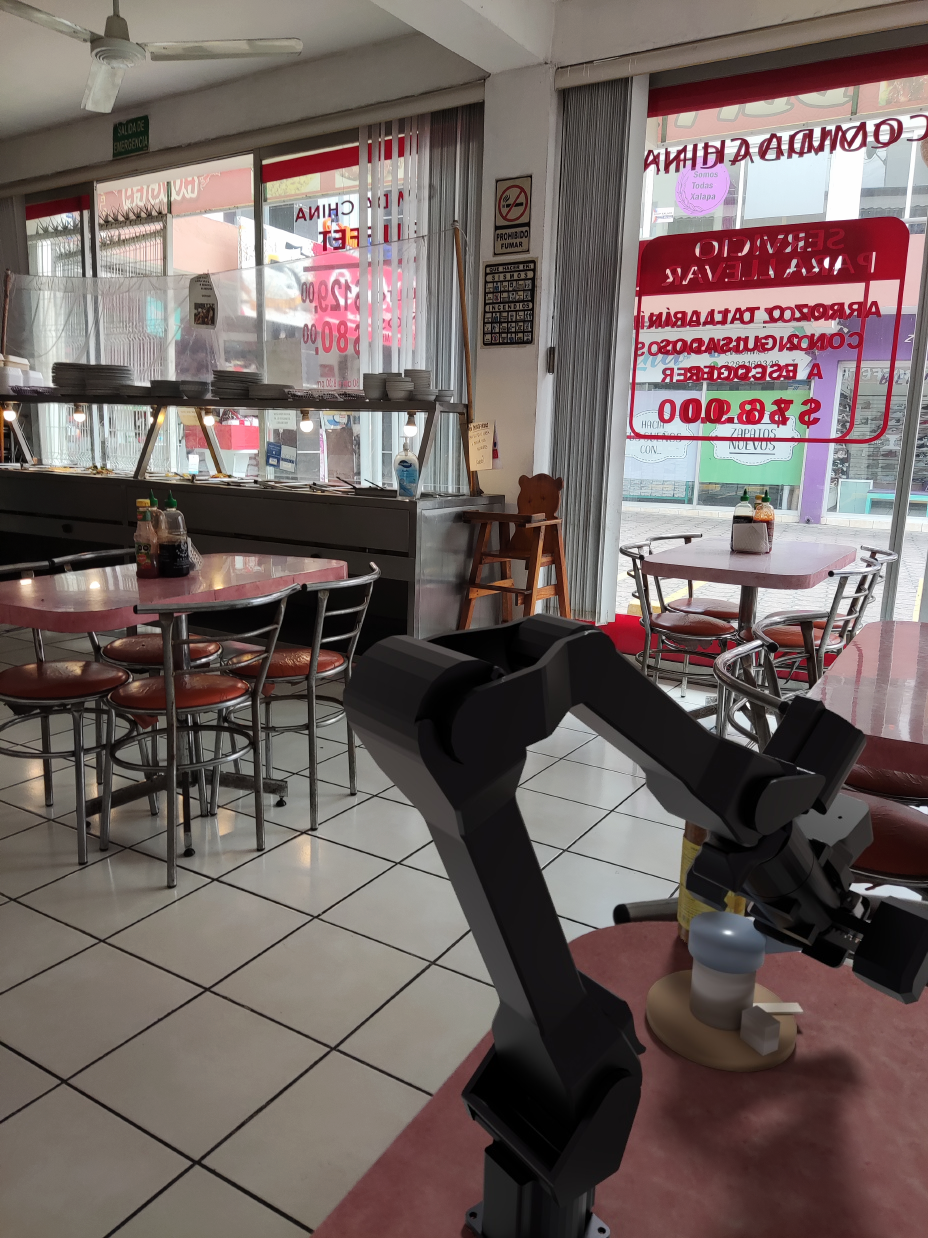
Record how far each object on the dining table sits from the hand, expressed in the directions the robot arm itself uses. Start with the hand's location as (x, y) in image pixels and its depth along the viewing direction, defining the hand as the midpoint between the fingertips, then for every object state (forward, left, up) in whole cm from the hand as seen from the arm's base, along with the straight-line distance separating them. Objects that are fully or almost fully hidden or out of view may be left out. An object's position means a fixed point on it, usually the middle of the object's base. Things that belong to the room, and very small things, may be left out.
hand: (836, 951), depth 72 cm
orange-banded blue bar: (-3, +4, -1) cm, 5 cm away
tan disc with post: (-6, +6, -7) cm, 11 cm away
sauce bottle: (+4, +15, -7) cm, 17 cm away
